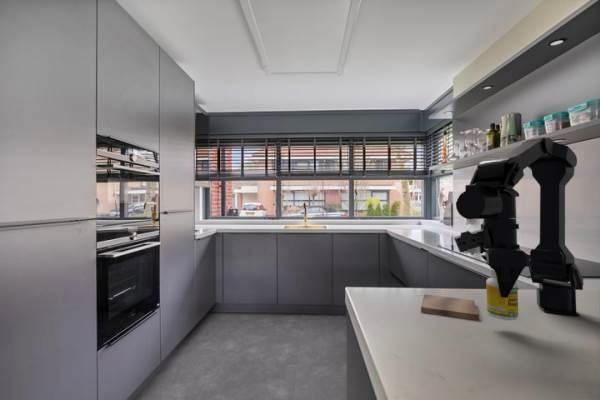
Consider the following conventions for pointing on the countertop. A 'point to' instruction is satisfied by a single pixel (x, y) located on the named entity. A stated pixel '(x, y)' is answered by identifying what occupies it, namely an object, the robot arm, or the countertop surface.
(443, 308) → the walnut board
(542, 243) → the robot arm
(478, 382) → the countertop surface
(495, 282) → the supplement bottle
